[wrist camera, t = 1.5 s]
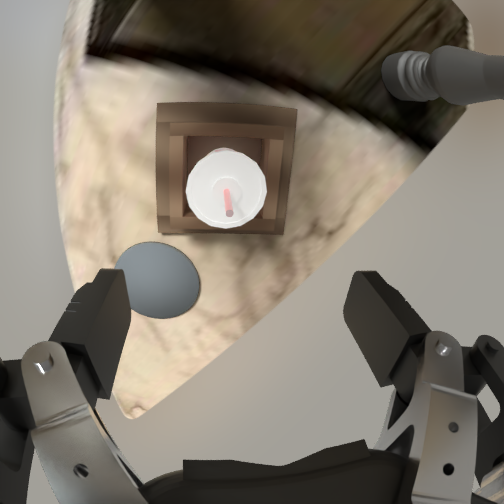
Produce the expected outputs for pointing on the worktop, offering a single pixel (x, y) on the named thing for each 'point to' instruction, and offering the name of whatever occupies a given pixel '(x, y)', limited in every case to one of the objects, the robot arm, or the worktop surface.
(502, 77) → the candle holder
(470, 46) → the worktop surface
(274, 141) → the stepped square tray
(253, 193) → the beverage cup
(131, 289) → the slate coaster
